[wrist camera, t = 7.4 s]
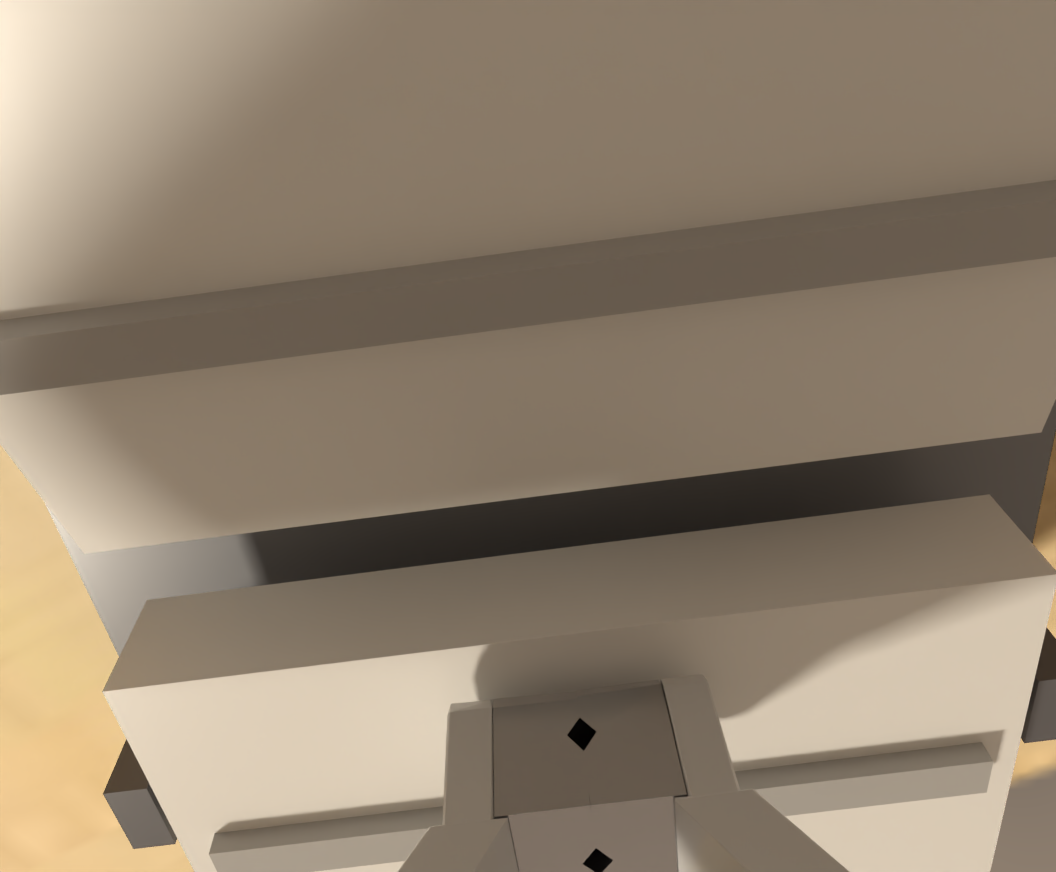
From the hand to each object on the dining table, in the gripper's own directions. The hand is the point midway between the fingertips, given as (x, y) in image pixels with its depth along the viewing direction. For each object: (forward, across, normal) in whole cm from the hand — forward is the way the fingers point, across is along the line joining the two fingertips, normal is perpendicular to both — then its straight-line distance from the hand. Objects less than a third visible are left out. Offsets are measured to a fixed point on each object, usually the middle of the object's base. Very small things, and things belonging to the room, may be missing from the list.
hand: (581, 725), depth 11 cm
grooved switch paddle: (+1, 0, +2) cm, 2 cm away
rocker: (+1, 0, -6) cm, 6 cm away
